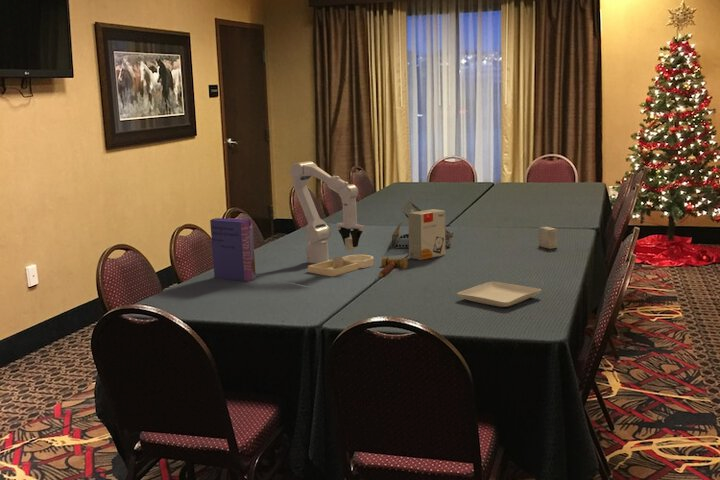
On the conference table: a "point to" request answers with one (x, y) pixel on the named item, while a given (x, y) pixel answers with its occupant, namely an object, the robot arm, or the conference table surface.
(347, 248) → the stone
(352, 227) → the robot arm
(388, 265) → the gavel
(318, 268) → the tray
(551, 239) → the medicine box
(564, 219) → the conference table surface
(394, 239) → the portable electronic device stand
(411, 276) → the conference table surface
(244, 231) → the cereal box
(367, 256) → the bowl
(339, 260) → the stone
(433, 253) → the hard drive box
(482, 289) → the salad plate
